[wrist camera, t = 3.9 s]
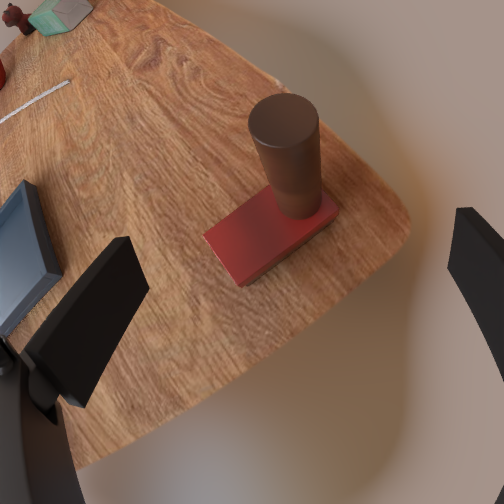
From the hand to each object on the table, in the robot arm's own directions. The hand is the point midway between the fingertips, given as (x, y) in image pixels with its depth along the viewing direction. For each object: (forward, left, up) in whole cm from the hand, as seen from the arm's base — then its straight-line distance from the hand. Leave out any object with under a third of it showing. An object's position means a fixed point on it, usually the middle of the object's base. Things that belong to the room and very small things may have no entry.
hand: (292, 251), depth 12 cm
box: (+55, +42, -11) cm, 70 cm away
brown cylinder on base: (+4, +2, -11) cm, 12 cm away
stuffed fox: (+66, +59, -11) cm, 89 cm away
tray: (+2, +34, -11) cm, 36 cm away
